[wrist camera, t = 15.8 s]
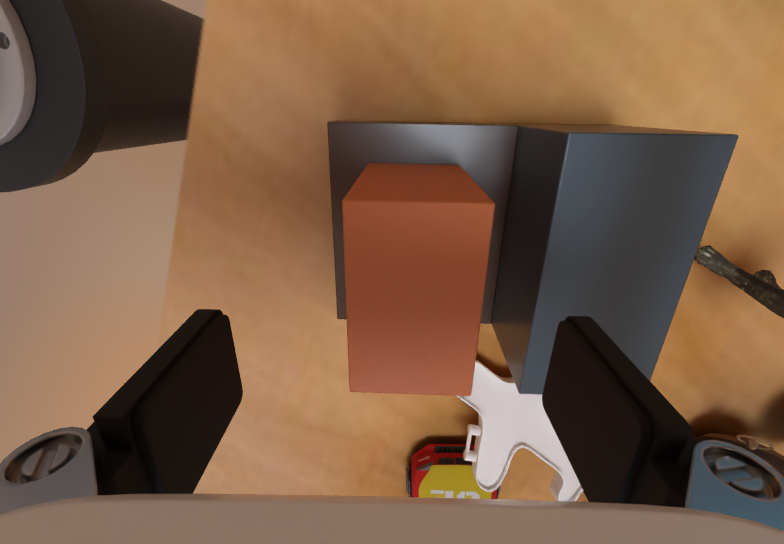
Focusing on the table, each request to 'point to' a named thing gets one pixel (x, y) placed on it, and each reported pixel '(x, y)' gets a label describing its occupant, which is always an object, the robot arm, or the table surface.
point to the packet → (415, 277)
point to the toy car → (444, 474)
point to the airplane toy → (513, 434)
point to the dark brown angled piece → (750, 448)
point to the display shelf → (561, 222)
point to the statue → (745, 279)
